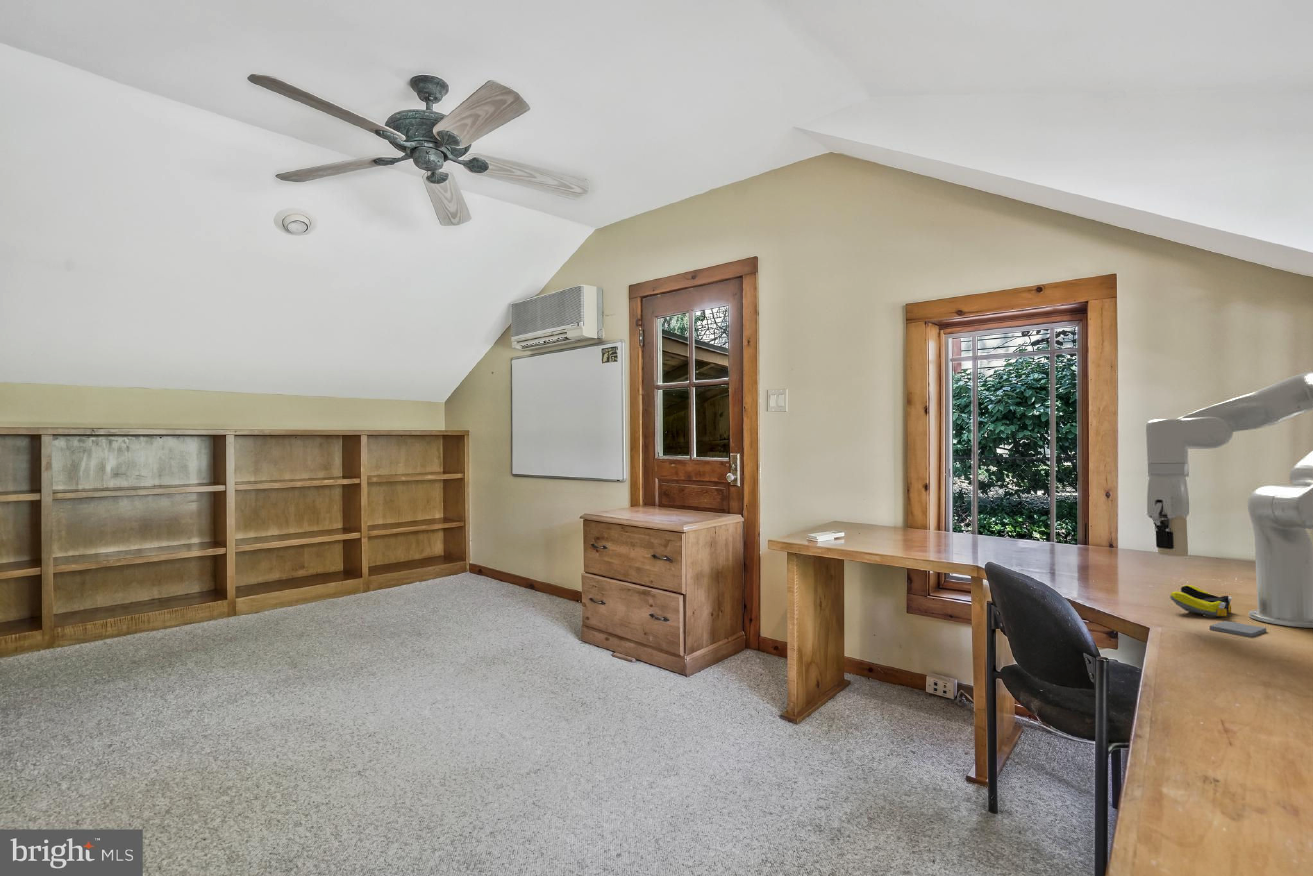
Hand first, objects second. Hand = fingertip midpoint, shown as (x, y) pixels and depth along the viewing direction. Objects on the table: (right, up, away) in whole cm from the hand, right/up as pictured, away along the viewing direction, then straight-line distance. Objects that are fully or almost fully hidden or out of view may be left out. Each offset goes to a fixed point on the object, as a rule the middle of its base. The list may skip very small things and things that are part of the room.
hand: (1171, 546), depth 147 cm
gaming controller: (+13, -18, +6) cm, 23 cm away
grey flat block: (+6, -17, -10) cm, 21 cm away
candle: (0, -2, 0) cm, 2 cm away
